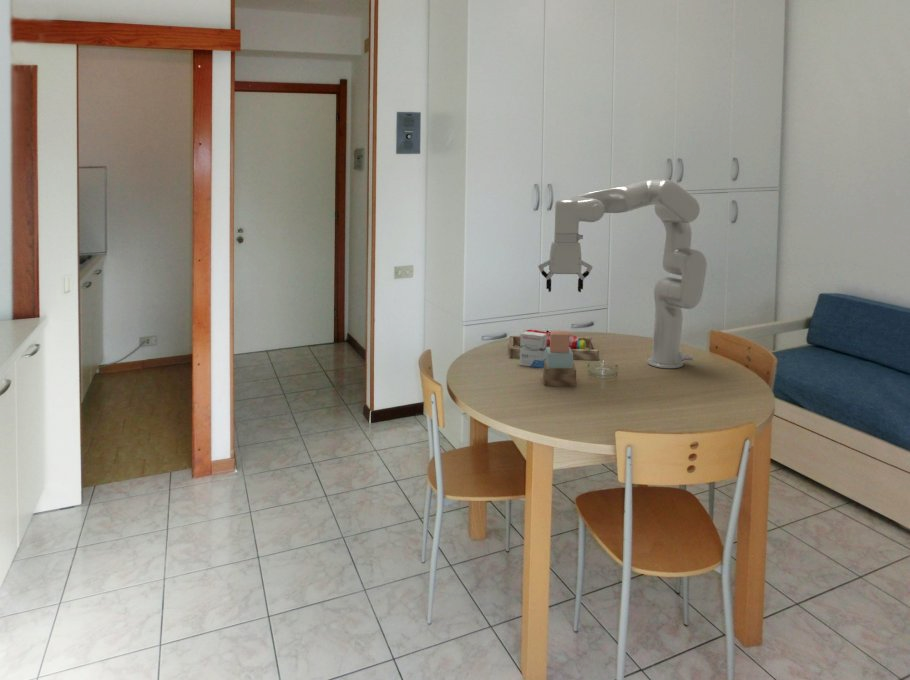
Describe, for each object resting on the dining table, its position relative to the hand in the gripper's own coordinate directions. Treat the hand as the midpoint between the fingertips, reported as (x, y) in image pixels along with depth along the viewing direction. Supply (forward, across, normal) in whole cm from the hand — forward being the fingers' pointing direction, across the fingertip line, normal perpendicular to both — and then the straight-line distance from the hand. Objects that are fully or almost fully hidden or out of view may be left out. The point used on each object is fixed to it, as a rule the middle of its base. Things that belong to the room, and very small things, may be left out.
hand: (564, 291), depth 232 cm
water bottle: (+31, 0, -38) cm, 49 cm away
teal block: (+25, +1, +1) cm, 25 cm away
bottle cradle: (+31, +1, -36) cm, 47 cm away
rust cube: (+20, +1, +1) cm, 20 cm away
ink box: (+31, +9, -18) cm, 36 cm away
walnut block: (+31, +1, +2) cm, 31 cm away
